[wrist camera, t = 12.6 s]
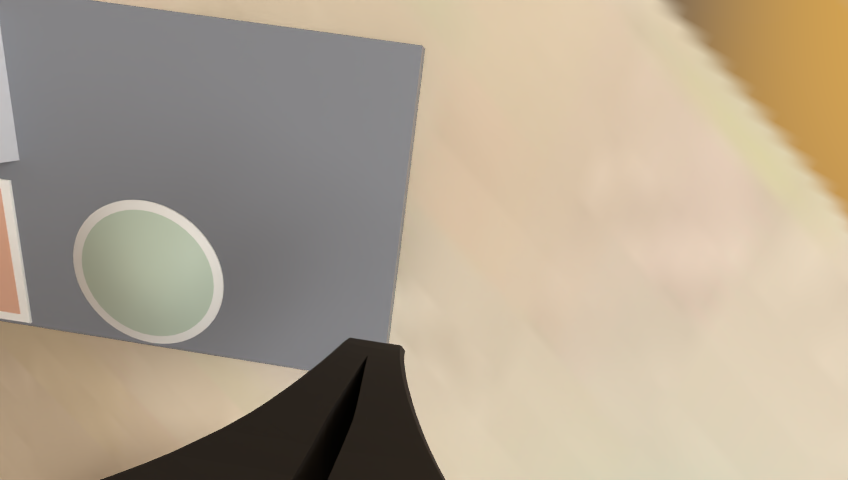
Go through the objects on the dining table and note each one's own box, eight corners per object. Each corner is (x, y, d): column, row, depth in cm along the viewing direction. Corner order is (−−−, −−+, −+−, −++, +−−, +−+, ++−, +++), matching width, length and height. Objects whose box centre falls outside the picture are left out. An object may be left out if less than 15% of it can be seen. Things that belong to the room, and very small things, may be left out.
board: (385, 367, 22) (374, 408, 19) (-119, 286, 22) (-204, 314, 20) (425, 48, 17) (417, 39, 14) (-202, -37, 18) (-327, -62, 15)
